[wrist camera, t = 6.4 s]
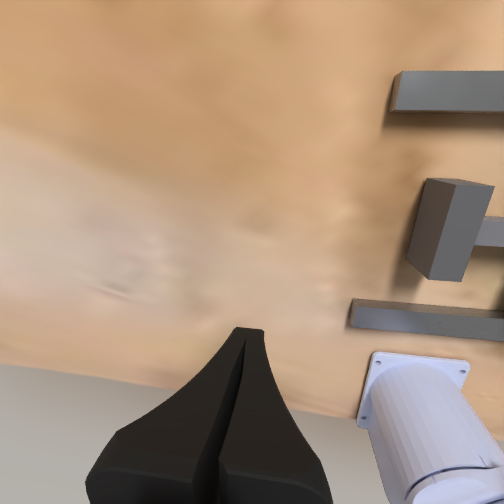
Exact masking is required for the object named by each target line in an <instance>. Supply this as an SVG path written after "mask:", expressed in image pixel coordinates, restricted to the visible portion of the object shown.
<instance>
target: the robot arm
mask: <svg viewBox="0 0 504 504" xmlns="http://www.w3.org/2000/svg"><path fill="white" fill-rule="evenodd" d="M376 361H379V362H376ZM460 370H461V371H460ZM469 370H470V364H469V363H468V362H467V361H465V360H457V359H447V358H437V357H428V356H418V355H408V354H399V353H389V352H374V353H373V355H372V358H371V362H370V366H369V371H368V375H367V379H366V383H365V387H364V391H363V395H362V399H361V404H360V408H359V412H358V416H357V420H356V423H357V426H358V427H360V428H364V429H368V433H369V436H370V440H371V443H372V447H373V451H374V454H375V458H376V461H377V464H378V468H379V472H380V476H381V479H382V483H383V486H384V490H385V492H386V495H387V498H388V500H389V502H390V504H504V453H503V451H502V450H501V448H500V447H499V446H498V444H497V443H496V442H495V440H494V438H493V437H492V436H491V434H490V433H489V431H488V430H487V428H486V427H485V426H484V424H483V423H482V421H481V420H480V418H479V417H478V416H477V414H476V413H475V411H474V410H473V408H472V407H471V406H470V404H469V403H468V401H467V400H466V398H465V397H464V396H463V394H462V393H461V388H462V386H463V384H464V381H465V379H466V377H467V374H468V372H469ZM85 485H86V492H87V495H88V498H89V501H90V504H333V500H332V496H331V492H330V488H329V485H328V481H327V478H326V475H325V472H324V470H323V467H322V464H321V462H320V460H319V458H318V457H317V455H316V454H315V453H314V451H313V450H312V449H311V447H310V445H309V444H308V442H307V441H306V439H305V438H304V437H303V435H302V433H301V432H300V430H299V429H298V427H297V425H296V423H295V421H294V420H293V418H292V416H291V414H290V412H289V411H288V409H287V407H286V405H285V403H284V401H283V399H282V396H281V394H280V392H279V390H278V387H277V385H276V382H275V380H274V377H273V374H272V371H271V368H270V365H269V361H268V358H267V354H266V349H265V343H264V331H263V330H261V329H251V328H241V327H236V328H235V329H234V330H233V331H232V333H231V335H230V336H229V337H228V339H227V340H226V342H225V343H224V344H223V346H222V347H221V348H220V349H219V351H218V352H217V353H216V354H215V356H214V357H213V358H212V359H211V360H210V361H209V362H208V363H207V364H206V365H205V367H204V368H203V369H202V370H201V371H200V372H199V373H198V374H197V375H196V376H195V377H194V378H193V379H191V380H190V381H189V382H188V383H187V384H186V385H185V386H184V387H182V388H181V389H180V390H179V391H178V392H176V393H175V394H174V395H173V396H171V397H170V398H169V399H167V400H166V401H165V402H163V403H162V404H160V405H159V406H157V407H156V408H155V409H153V410H152V411H150V412H149V413H147V414H146V415H144V416H142V417H141V418H139V419H137V420H136V421H134V422H132V423H130V424H129V425H127V426H125V427H123V428H121V429H120V430H118V431H116V433H115V434H114V436H113V437H112V438H111V440H110V441H109V442H108V444H107V445H106V447H105V448H104V449H103V451H102V453H101V454H100V456H99V457H98V459H97V461H96V462H95V464H94V466H93V468H92V469H91V471H90V472H89V474H88V476H87V478H86V481H85Z"/></svg>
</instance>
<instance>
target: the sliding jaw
mask: <svg viewBox="0 0 504 504" xmlns="http://www.w3.org/2000/svg"><path fill="white" fill-rule="evenodd" d="M494 187H495V186H490V185H485V184H480V183H475V182H470V181H465V180H460V179H443V178H427V179H426V183H425V187H424V191H423V195H422V199H421V203H420V207H419V210H418V214H417V218H416V222H415V226H414V230H413V234H412V238H411V241H410V245H409V249H408V253H407V257H406V259H407V260H408V261H409V262H410V263H411V264H412V265H413V266H414V267H415V268H416V269H417V270H419V271H420V272H421V273H422V274H423V275H424V276H425V277H426V278H427V279H428V280H440V281H454V282H461V281H462V278H463V275H464V272H465V270H466V267H467V264H468V261H469V258H470V255H471V253H472V250H473V247H474V245H480V246H497V247H504V217H491V216H485V213H486V210H487V207H488V204H489V202H490V199H491V196H492V193H493V190H494Z"/></svg>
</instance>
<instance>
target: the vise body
mask: <svg viewBox="0 0 504 504" xmlns="http://www.w3.org/2000/svg"><path fill="white" fill-rule="evenodd" d="M388 112H426V113H501V114H504V71H402V72H400V73H399V74H397V75H396V76H395V79H394V84H393V90H392V95H391V100H390V105H389V111H388ZM349 320H350V322H351V325H352V327H357V328H367V329H378V330H389V331H399V332H410V333H420V334H431V335H441V336H452V337H462V338H473V339H484V340H494V341H504V311H495V310H483V309H471V308H459V307H447V306H436V305H424V304H412V303H400V302H388V301H376V300H364V299H353V301H352V306H351V311H350V316H349Z"/></svg>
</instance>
